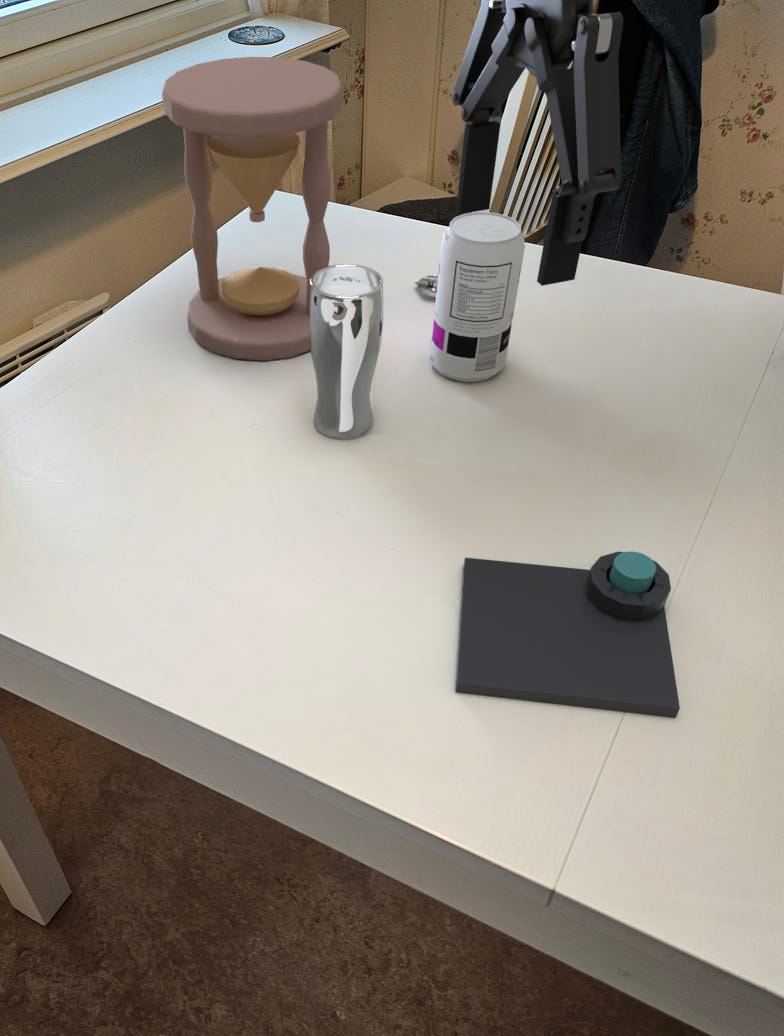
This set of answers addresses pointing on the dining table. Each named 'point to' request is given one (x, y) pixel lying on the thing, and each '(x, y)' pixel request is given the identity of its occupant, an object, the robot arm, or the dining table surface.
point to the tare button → (632, 572)
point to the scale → (565, 637)
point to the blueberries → (428, 285)
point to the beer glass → (345, 346)
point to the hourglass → (254, 191)
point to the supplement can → (476, 295)
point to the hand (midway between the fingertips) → (511, 243)
